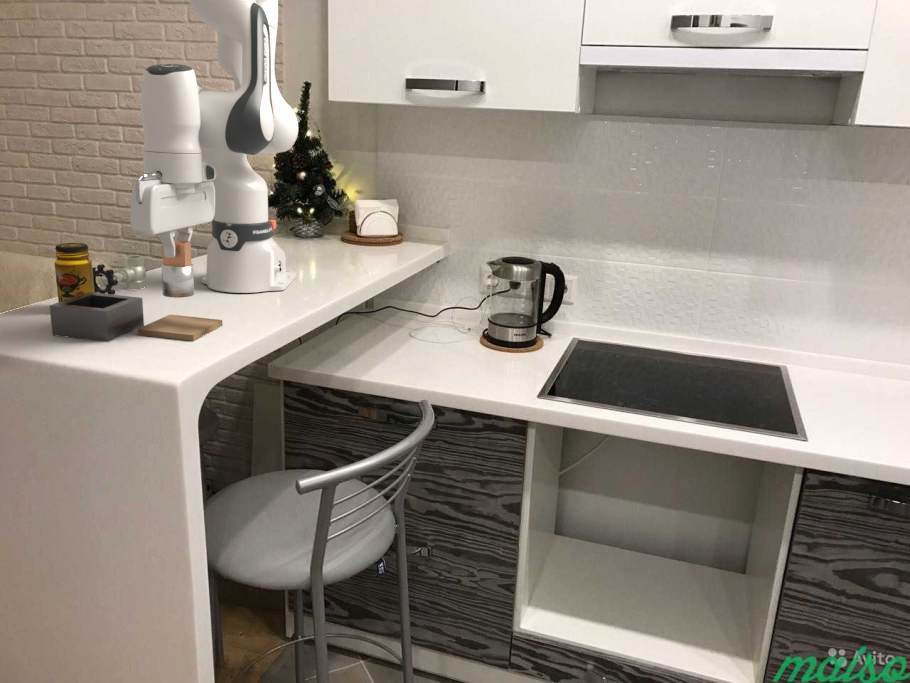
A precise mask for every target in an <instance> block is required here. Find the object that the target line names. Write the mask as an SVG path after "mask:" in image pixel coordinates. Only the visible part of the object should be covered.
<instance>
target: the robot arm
mask: <svg viewBox="0 0 910 683" xmlns="http://www.w3.org/2000/svg"><path fill="white" fill-rule="evenodd" d="M188 1H189V4H190V6H191V8H192V10H193V12H194V14H195V15H196V16H197V17H198V18H199V19H200V20H201V21H202V22H203V23H204V24H205V25H206V26H208V27H209V28H210V29H212V30H213V31H215V32H217V33H218V38H217V39H218V40H217V48H216V49H217V50H216V60H217V61H218V64H219V66H220V67H221V68H222V69H223V71H224V72H226V73H227V74H228V75H230V76H231V77H232V79H233V81H234V87H235V88H234V89H235V90H234V91H223V90H208V89H203V88H202V87H201V86H199V85H198V83H197V75H196V72H195V70H194V68H192V67H190V65H189V66H188V65H184V64H178V63H167V64H162V63H161V64H154V65H150V66H148V67H146V68H145V69H144V71H143V74H142V80H141V87H140V88H141V89H140V120H141V125H142V128H143V131H144V142H143V146H142V156H143V157H142V158H143V173H140V174H139V177H138V178H137V180H136V181H135V182H134V187H133V188H132V191H131V195H130V196H131V197H130V210H129V211H130V216H129V217H130V222H129V223H130V228H131V230H132V231H133V233H134V234H136V235H145V236H146V235H147V236H156V235H158V236H157V237H158V238H159V241H160V243H161V246H162V245H163V247H164V256H165V257H168V258H174V257H176V256H178V246H175V243H174V240H175V239H174V237H175V236H176V232H177V233H178V236H177V240H182V241H191V240H192V239H191V238H192V236H193V232H194V231H193V227H195V226H199V225H204V224H208V223H211V226H210V228H211V229H210V230H211V237H212V238H213V239H212V241H211V242H210V243H209V244H208V246H207V250H206V252H207V253H206V273H205V274H206V276H203V277H201V283H202V284H204V285H207V287H208V288H209V289H211V290H213V291H217V292H226V293H234V294H235V293H236V294H237V293H238V294H239V293H241V294H245V293H246V294H248V293H250V294H252V293H260V292H261V293H262V292H270V291H271V292H272V291H273V292H274V291H275V292H276V291H285V290H286V288H288V287H289V285H290V284H292V282H293V281H294V280H295V279H296V278H297V272H296V271H291V270H288V269H287V258H286V253H285V250H283V249H282V248H281V247H280V245H279V244H278V243H277V242H276V241H275V239H274V238H273V236H274V234H273V230H275V229H276V228H277V221H276V219H269V200H268V199H269V196H268V195H269V192H268V191H269V190H268V185H267V182H266V180H265V179H264V177H262V176H261V175H260V174H258V173H257V172H256V171H255V170H254V169H253V168H252V166H251V165H250V163H249V160H248V156H247V155H250V156H256V155H272V154H279V153H285V152H287V151H289V150H291V149H292V147H293V146H294V145H295V142H296V141H297V138H298V135H299V121H298V117H297V115H296V112H295V111H294V109H293V107H292V106H291V105H290V104H288V103H287V102H286V100H285V98H283V95H282V94H281V92H280V89H279V87H278V82H277V80H276V78H277V77H276V72H275V64H276V62H275V60H276V46H277V36H278V35H277V34H278V23H279V0H188ZM175 231H176V232H175Z"/></svg>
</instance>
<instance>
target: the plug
mask: <svg viewBox="0 0 910 683" xmlns="http://www.w3.org/2000/svg"><path fill="white" fill-rule="evenodd" d="M191 242H192V241H191V240H190V241H182V240H178V239H174V243H175V246H178V256H176V257H174V258H168V257H165V256H164V247H163V245H162V244H161V248H162V249H161V251H162V264H161V269H160V270H161V285H162V286H161V289H162V295H163V296H164V297H167V298H177V299H180V298H188V297H193V296H194V295H195V282H194V281H195V279H194V278H195V277H194V276H195V274H194V264H193V263H192V244H191Z"/></svg>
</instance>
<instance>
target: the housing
mask: <svg viewBox="0 0 910 683" xmlns="http://www.w3.org/2000/svg"><path fill="white" fill-rule="evenodd" d="M143 303H144V302H143V297H138V296H130V295H119V294H114V295H112V294H108V293H105V294H102V293H100V292H96V293H93V292H88V293H85V294H82V295H79V296H76V297H73V298H70V299H67V300H64V301H61V302H58V301H57V302H56V303H55V302H54V303H53V304H49V313H50V314H49V315H50V323H51V324H50V325H51V332H52V334H51V335H52V336H55V335H58V336H57V337H63V336H68V337H67V338H72V337H73V339H81V340H83V339H84V340H89V339H90V341H99V342H108V343H109V342H111V341H113V340H115V338H116V339H117V338H119V337H122V336H124V334H125V335H127V334H129V333H132V332H133V330H134V331H136V330H138V328H141V327H142V326H145V319H144V318H145V317H144V304H143ZM135 329H136V330H135Z"/></svg>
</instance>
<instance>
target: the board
mask: <svg viewBox="0 0 910 683" xmlns="http://www.w3.org/2000/svg"><path fill="white" fill-rule="evenodd" d="M220 326H221V327H222V326H223V319H216V318H206V317H198V316H188V315H178V314H168V315H165V316H163V317H160V318H159V319H156V320H154V321H152V322H150V323H148V324H146V325H145V324H144V326H143V327H140V328H138V329H137V335H138V336H145V337H154V336H156V338H162V337H165V338H164V339H171V338H175V339H174V340H180V341H181V340H182V341H189V342H190V341H191V342H195V341H197V340H199V339H200V338H202V337H203V335H204V336H206V335H207V333H208V334H209V333H212V332H213V331H215V330H216V329H217V330H218V329H219V328H220ZM218 327H219V328H218ZM205 334H206V335H205Z"/></svg>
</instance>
